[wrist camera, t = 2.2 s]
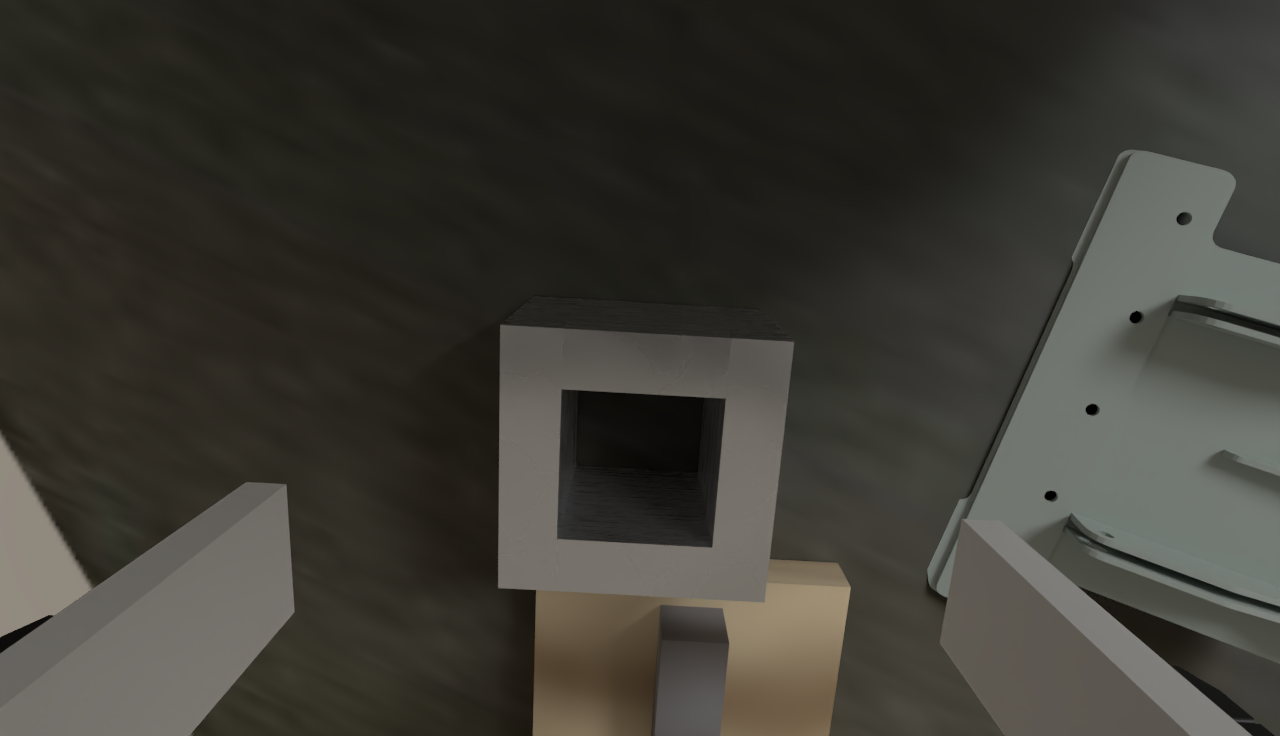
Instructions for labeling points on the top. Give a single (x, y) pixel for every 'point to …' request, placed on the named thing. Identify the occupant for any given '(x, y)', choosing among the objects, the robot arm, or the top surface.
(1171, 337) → the metal bracket
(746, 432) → the grey square socket block
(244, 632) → the robot arm
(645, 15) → the top surface
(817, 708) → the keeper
